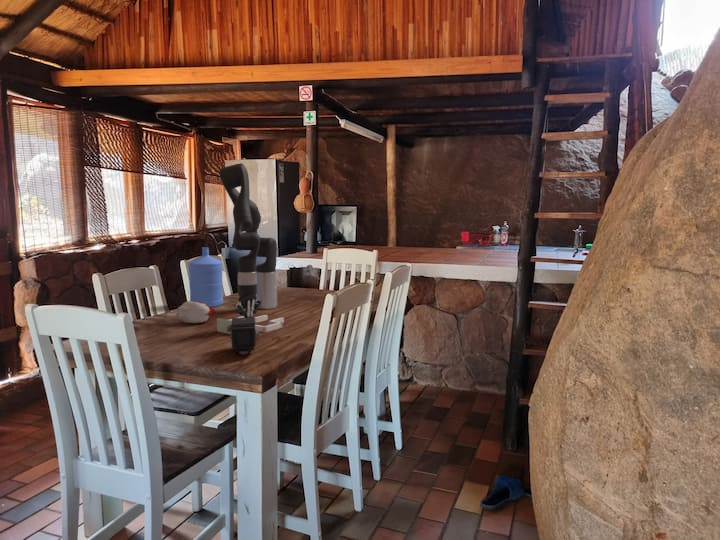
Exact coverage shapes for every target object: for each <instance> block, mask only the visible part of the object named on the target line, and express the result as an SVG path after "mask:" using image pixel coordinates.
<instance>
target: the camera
mask: <svg viewBox="0 0 720 540" xmlns="http://www.w3.org/2000/svg"><path fill="white" fill-rule="evenodd" d="M231 319H232V324H229V325H228V324H227V332H230V334H229V336H230V340H231V348H232V351H233V352H238V353H239V355H247V354H249V351H254V350H255V347H256V342H257V340H259V339H260V335H261V334H260V331H256V329H255V325H256V323H255V317H254V316H252V317H247V318H238V317H235V318H234V317H232V318H231Z"/></svg>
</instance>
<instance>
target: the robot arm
mask: <svg viewBox="0 0 720 540" xmlns="http://www.w3.org/2000/svg"><path fill="white" fill-rule="evenodd" d="M219 178H220V181H221V183H222V186H223V187H224V189H225V191H226V193H227V195H228V196H229V199H230V201H231V202H232V204H233V209H232V215H233V216H232V217H233V223H234V230H233V231H234V232H233V237H232V238H233V239H232V246H233V248H234V249H235V250H237V251H238V252H239V251H249V253H248V254H247V255H243V256H239V258H238V259H237V270H238V271H237V295H238V296H239V297H238V302H237V303H236V304H234V305H233V307H234V308H235V311H237V313H238V314H239V316H240V317H242V316H244V318H247V317H254V315H256V313H257V312H258V310H259V309H261V310H268V309H275V308H276V307H278V287H277V286H276V285H277V283H276V282H277V281H276V271H277V270H276V267H277V254H278V253H277V252H278V248H277V247H278V244H277V241H276V239H275V238H273V237H260V235H259V234H258V229H259V227H260V224H261V221H262V216H261V213H260V209H259V207H258V205H257V204H256V203H255V202H254V201H252V200H251V198H250V194H251V193H250V191H251V190H250V178H249V173H248V170H247V168H246V165H245V164H244V163H242V162H241V163H236V164H231V165H227V166H223V167H222V168H220V169H219ZM239 187H240V190H239V191H238V190H237V188H239ZM257 257H258V258H265V260H264V262H263V263H260V264H257Z"/></svg>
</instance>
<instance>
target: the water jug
mask: <svg viewBox="0 0 720 540" xmlns="http://www.w3.org/2000/svg"><path fill="white" fill-rule="evenodd" d="M201 249H202V251H201V253H202V254H201V256H199V257H198V258H195V259H194V260H191V261H190V262H189V265H188V273H189V297H190V298H189V301H192V302H202V303H204V304H207V305H208V306H209V308H213V307H214V308H215V307H219V306H222V305H223V304H224V297H223V296H224V290H223V287H224V286H223V269H224V267H223V262H222V261H221V260H220V259H216V258H215V257H212V256H211V255H210V249H209V247H208V246H205V247H201Z"/></svg>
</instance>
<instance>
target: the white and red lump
mask: <svg viewBox="0 0 720 540" xmlns="http://www.w3.org/2000/svg"><path fill="white" fill-rule="evenodd" d="M175 311H176V313H175V314H176V316H177V318H179V319H181V320H182V322H184V323H185V324H201V323H203V324H204V323H207V322H208V320H209V318H210V316H211V317H212V316H214V315H215V313H216V309H215V308H213V307H209V306H208V305H207V304H204V303H202V302H192V301H190V300H188V301H185V302H183V303H182V304H181V306H180V305H179V306H178V307H177V308H176V310H175Z"/></svg>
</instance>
